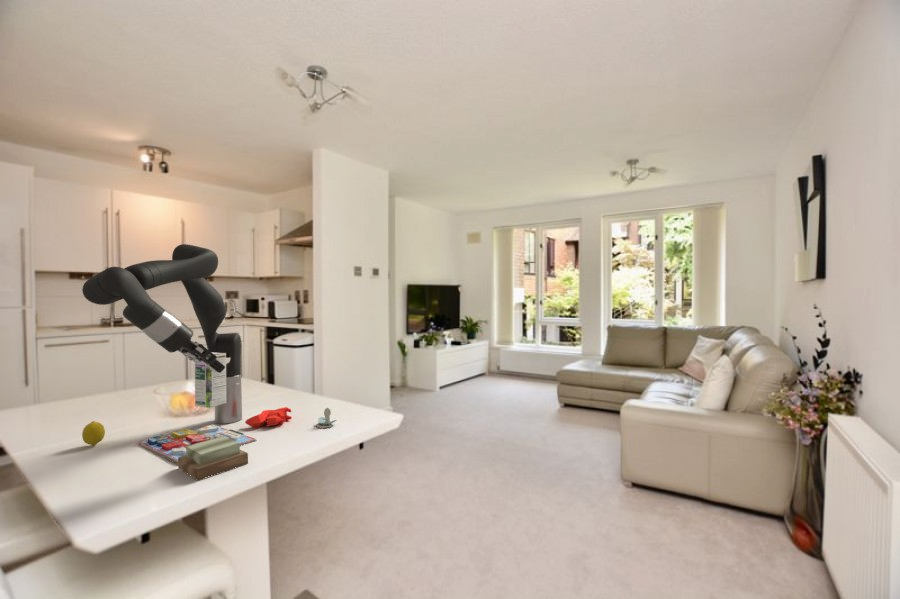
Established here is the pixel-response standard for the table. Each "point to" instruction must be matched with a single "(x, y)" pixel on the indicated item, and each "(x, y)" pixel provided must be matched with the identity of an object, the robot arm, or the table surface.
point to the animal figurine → (269, 417)
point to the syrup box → (210, 383)
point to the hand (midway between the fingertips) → (216, 368)
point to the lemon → (93, 433)
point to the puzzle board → (190, 440)
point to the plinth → (211, 466)
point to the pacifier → (327, 421)
